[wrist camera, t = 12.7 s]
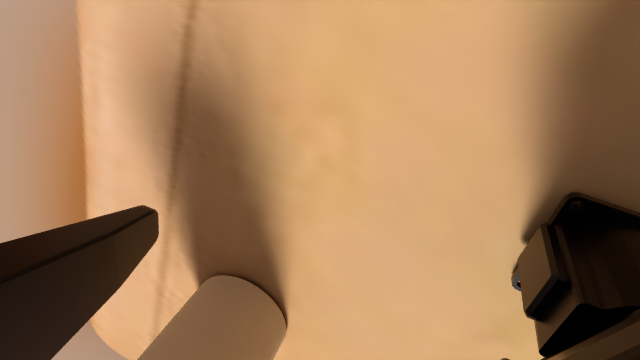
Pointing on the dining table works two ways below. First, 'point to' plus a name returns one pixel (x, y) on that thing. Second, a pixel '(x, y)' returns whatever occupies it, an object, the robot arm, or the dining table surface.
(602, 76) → the dining table surface
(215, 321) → the travel mug
